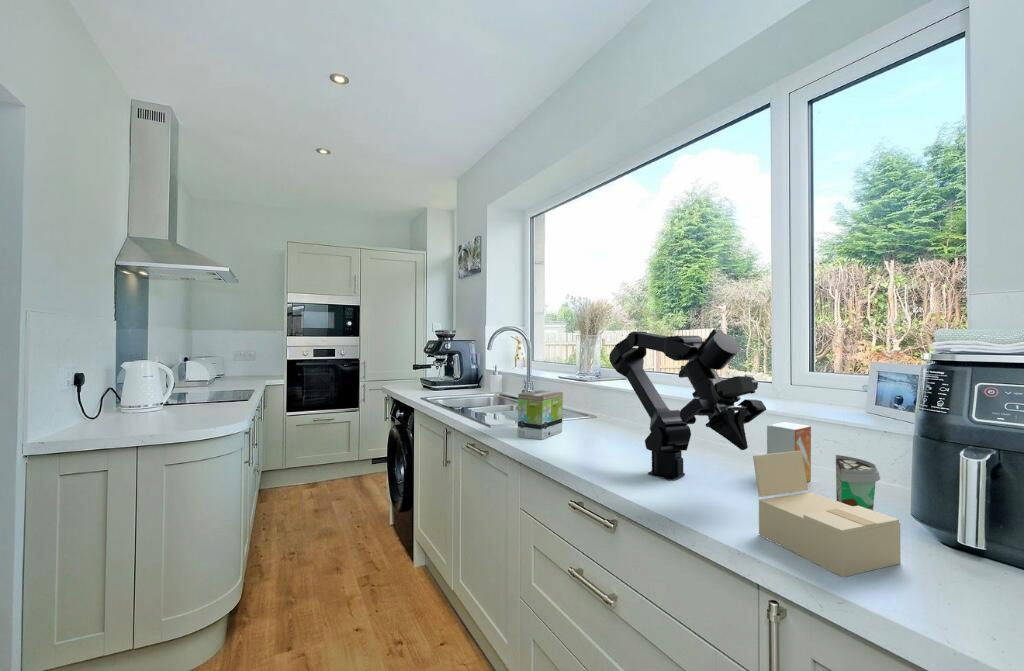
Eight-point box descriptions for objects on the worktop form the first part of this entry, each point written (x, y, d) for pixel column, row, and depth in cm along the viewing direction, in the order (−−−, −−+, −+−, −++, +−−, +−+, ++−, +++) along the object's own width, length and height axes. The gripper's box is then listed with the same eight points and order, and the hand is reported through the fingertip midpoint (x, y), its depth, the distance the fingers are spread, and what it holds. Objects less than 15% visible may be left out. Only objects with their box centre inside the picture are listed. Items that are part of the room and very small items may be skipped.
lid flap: (761, 496, 76) (758, 496, 77) (808, 490, 79) (805, 489, 80) (755, 455, 77) (752, 455, 78) (801, 450, 80) (798, 450, 81)
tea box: (542, 440, 145) (542, 395, 146) (516, 437, 151) (516, 393, 151) (563, 432, 158) (563, 390, 158) (538, 429, 164) (538, 389, 164)
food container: (886, 533, 76) (886, 475, 76) (841, 525, 79) (841, 469, 80) (874, 509, 87) (874, 458, 87) (835, 503, 90) (835, 454, 90)
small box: (795, 487, 99) (795, 429, 100) (766, 480, 105) (765, 424, 105) (812, 481, 104) (811, 425, 104) (783, 474, 109) (783, 421, 109)
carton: (758, 534, 76) (758, 496, 76) (811, 525, 79) (811, 488, 79) (842, 577, 62) (842, 530, 62) (900, 563, 66) (900, 519, 66)
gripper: (697, 357, 87) (739, 428, 77) (763, 362, 94) (809, 427, 84) (664, 389, 94) (698, 458, 85) (728, 391, 102) (766, 454, 92)
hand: (744, 449), depth 86 cm, fingers closed
